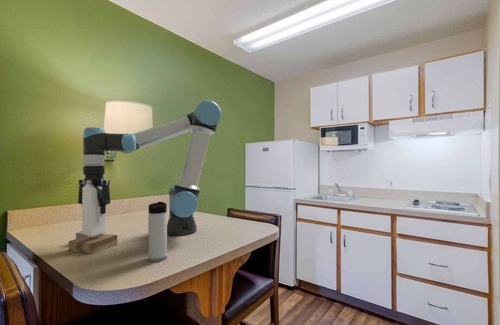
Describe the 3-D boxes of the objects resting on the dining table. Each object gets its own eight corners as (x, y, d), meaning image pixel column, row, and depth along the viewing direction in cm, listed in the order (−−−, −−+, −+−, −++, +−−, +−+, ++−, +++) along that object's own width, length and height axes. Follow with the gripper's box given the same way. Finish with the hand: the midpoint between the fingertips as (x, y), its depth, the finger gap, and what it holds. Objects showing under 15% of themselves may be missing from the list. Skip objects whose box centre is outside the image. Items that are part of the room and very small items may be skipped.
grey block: (94, 241, 113) (94, 230, 113) (87, 244, 108) (87, 233, 108) (83, 241, 113) (83, 230, 113) (75, 244, 108) (75, 233, 108)
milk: (82, 234, 102) (81, 180, 103) (96, 231, 108) (96, 179, 108) (91, 236, 100) (91, 180, 100) (105, 232, 105) (105, 179, 105)
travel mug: (169, 254, 95) (169, 201, 95) (164, 261, 88) (163, 204, 88) (152, 255, 94) (152, 201, 95) (145, 262, 88) (145, 204, 88)
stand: (117, 244, 108) (117, 235, 108) (93, 253, 96) (93, 243, 96) (94, 242, 111) (94, 233, 111) (68, 251, 99) (68, 241, 99)
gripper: (120, 165, 105) (120, 220, 105) (83, 165, 110) (83, 218, 110) (106, 165, 98) (106, 224, 98) (66, 165, 103) (66, 222, 103)
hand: (93, 221), depth 104 cm, fingers closed on milk, 7 cm apart
